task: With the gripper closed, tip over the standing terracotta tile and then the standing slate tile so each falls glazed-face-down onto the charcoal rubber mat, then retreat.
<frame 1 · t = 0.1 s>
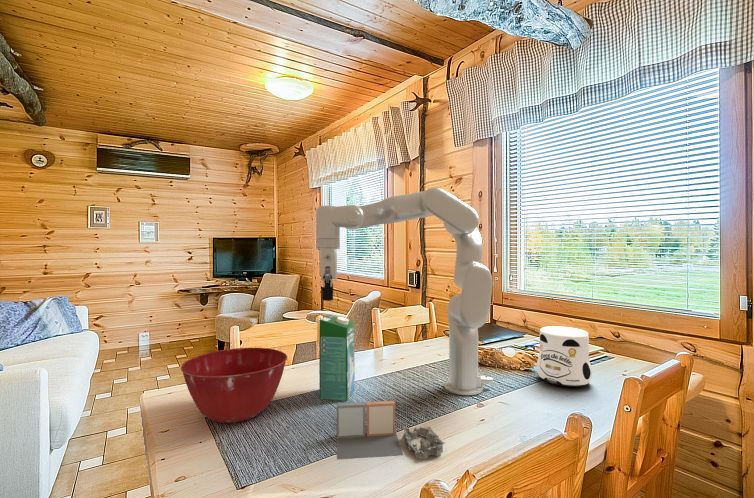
hand: (328, 298, 123), 31 cm above the table, fingers open, 9 cm apart
mixing bowl: (236, 413, 110), on the table
milk container: (563, 382, 134), on the table
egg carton: (422, 450, 91), on the table
terracotta tile: (380, 434, 96), point 1 cm above the table, touching rubber mat
slate tile: (350, 435, 95), point 1 cm above the table, touching rubber mat
milk carton: (337, 395, 123), on the table
rubber mat: (367, 442, 93), on the table
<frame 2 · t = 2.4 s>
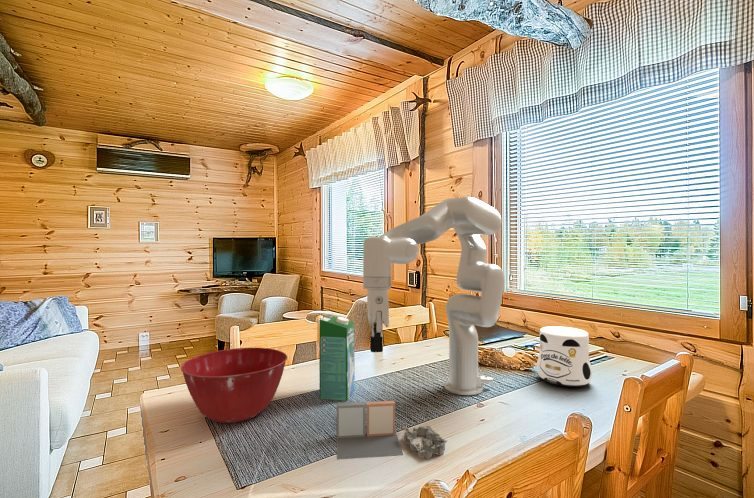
hand: (376, 351, 103), 20 cm above the table, fingers closed
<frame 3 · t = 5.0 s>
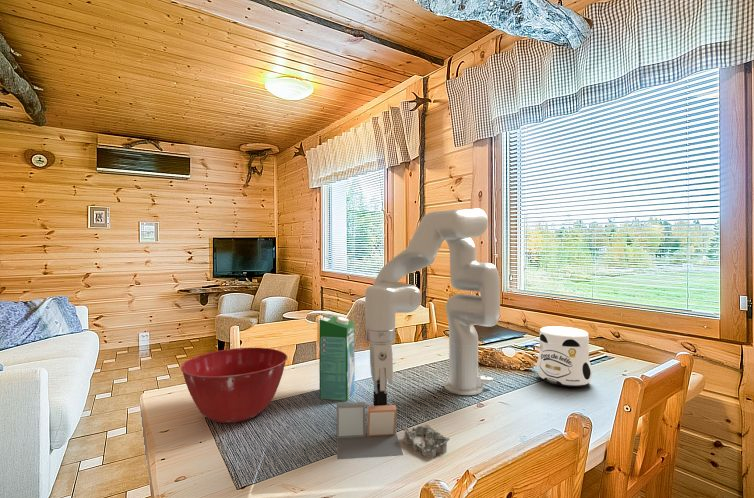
hand: (380, 407, 96), 7 cm above the table, fingers closed
terracotta tile: (380, 433, 96), point 1 cm above the table, tilted 19°, touching rubber mat
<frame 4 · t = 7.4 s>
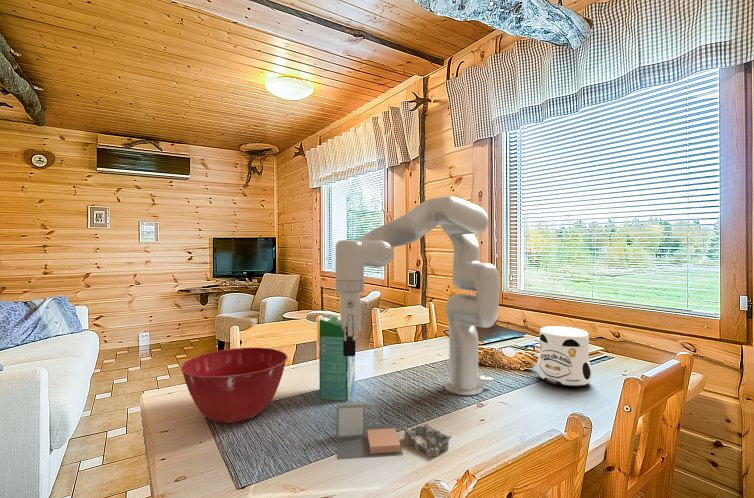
hand: (349, 355, 102), 19 cm above the table, fingers closed
terracotta tile: (381, 432, 95), point 2 cm above the table, tilted 90°, touching rubber mat
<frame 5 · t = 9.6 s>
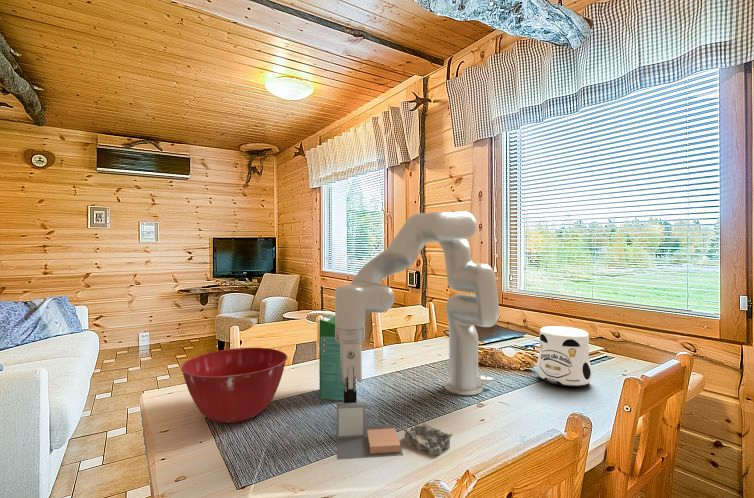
hand: (350, 405, 98), 7 cm above the table, fingers closed
slate tile: (350, 435, 95), point 1 cm above the table, touching gripper, rubber mat
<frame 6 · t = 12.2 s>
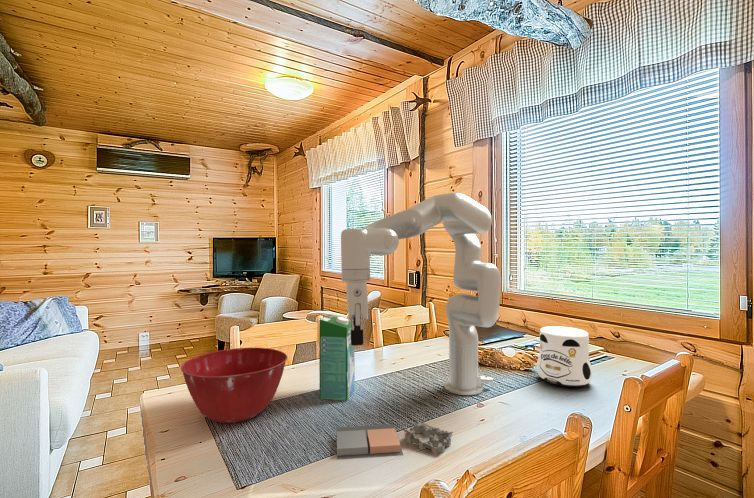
hand: (357, 344, 101), 22 cm above the table, fingers closed
slate tile: (350, 433, 94), point 2 cm above the table, tilted 90°, touching rubber mat
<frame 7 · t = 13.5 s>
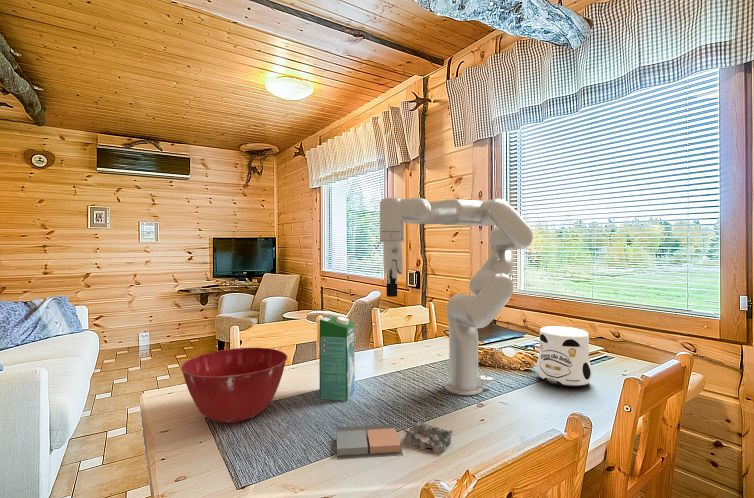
hand: (391, 296, 120), 32 cm above the table, fingers closed
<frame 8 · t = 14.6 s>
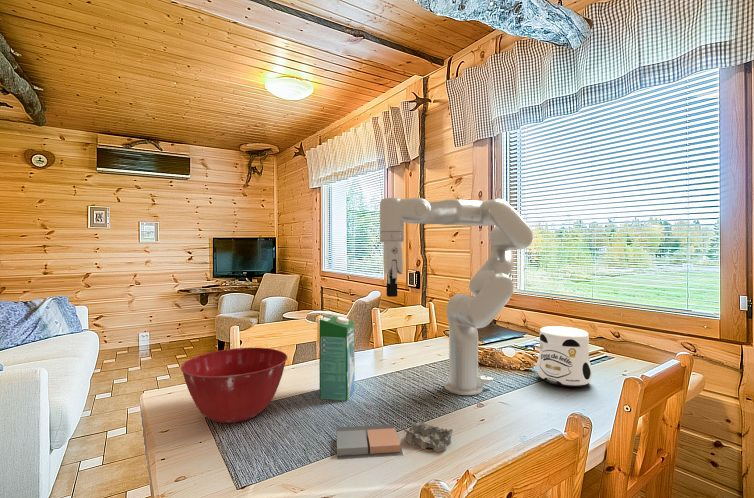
hand: (391, 296, 120), 32 cm above the table, fingers closed
at the end: terracotta tile tilted 90°; slate tile tilted 90°; terracotta tile inside the target area (3.6 cm from its centre), point 1.5 cm above the table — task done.
